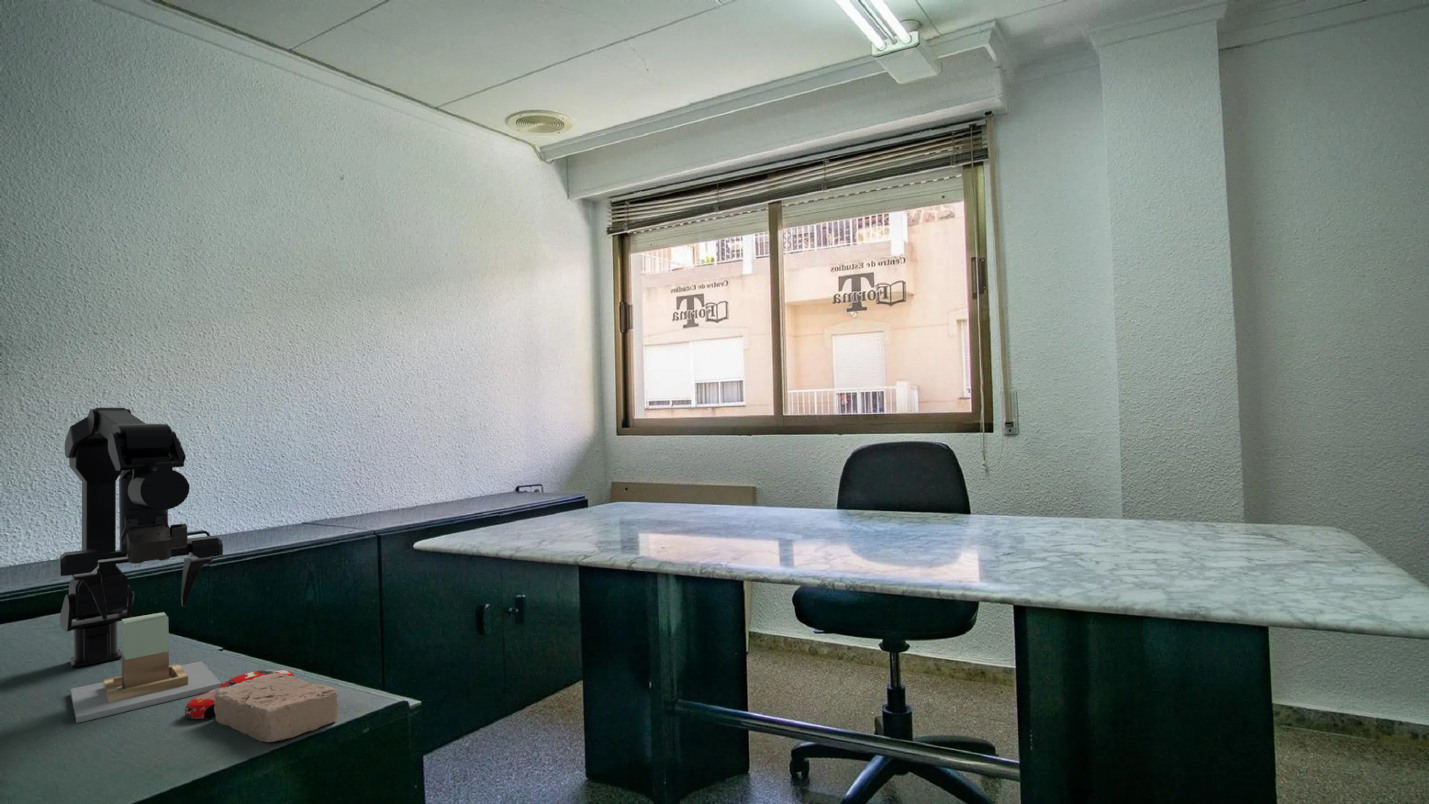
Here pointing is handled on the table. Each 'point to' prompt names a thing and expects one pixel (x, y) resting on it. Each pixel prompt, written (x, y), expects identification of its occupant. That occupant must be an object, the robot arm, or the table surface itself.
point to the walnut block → (145, 669)
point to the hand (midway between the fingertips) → (145, 612)
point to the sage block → (145, 635)
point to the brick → (275, 707)
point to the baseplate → (141, 692)
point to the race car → (206, 701)
